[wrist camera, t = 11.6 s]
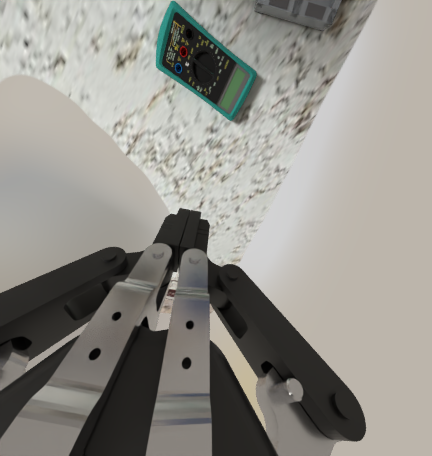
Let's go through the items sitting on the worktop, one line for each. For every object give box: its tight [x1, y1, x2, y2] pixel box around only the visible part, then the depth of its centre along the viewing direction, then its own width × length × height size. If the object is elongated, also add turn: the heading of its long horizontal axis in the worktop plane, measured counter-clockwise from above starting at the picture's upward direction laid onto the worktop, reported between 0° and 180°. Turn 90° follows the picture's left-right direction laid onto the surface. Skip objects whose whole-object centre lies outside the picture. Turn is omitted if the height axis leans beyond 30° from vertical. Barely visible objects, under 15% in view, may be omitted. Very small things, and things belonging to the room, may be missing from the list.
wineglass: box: [165, 268, 179, 301], centre depth 52 cm, size 7×7×12 cm
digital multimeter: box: [156, 1, 257, 121], centre depth 25 cm, size 7×15×3 cm, turn 60°
